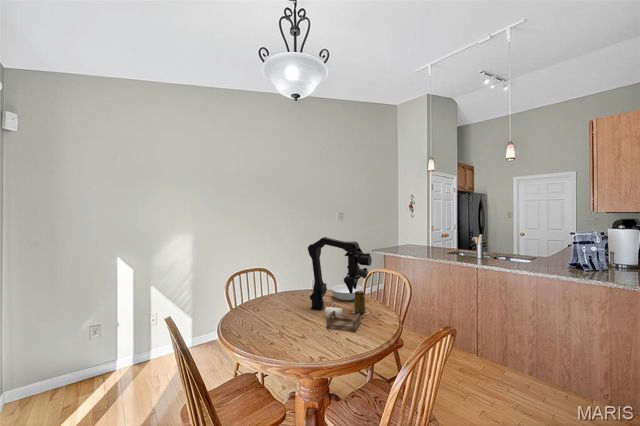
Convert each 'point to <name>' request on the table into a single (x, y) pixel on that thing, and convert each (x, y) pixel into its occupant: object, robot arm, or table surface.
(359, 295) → the condiment
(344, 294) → the serving bowl
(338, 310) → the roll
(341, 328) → the cradle
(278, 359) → the table surface
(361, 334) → the table surface
